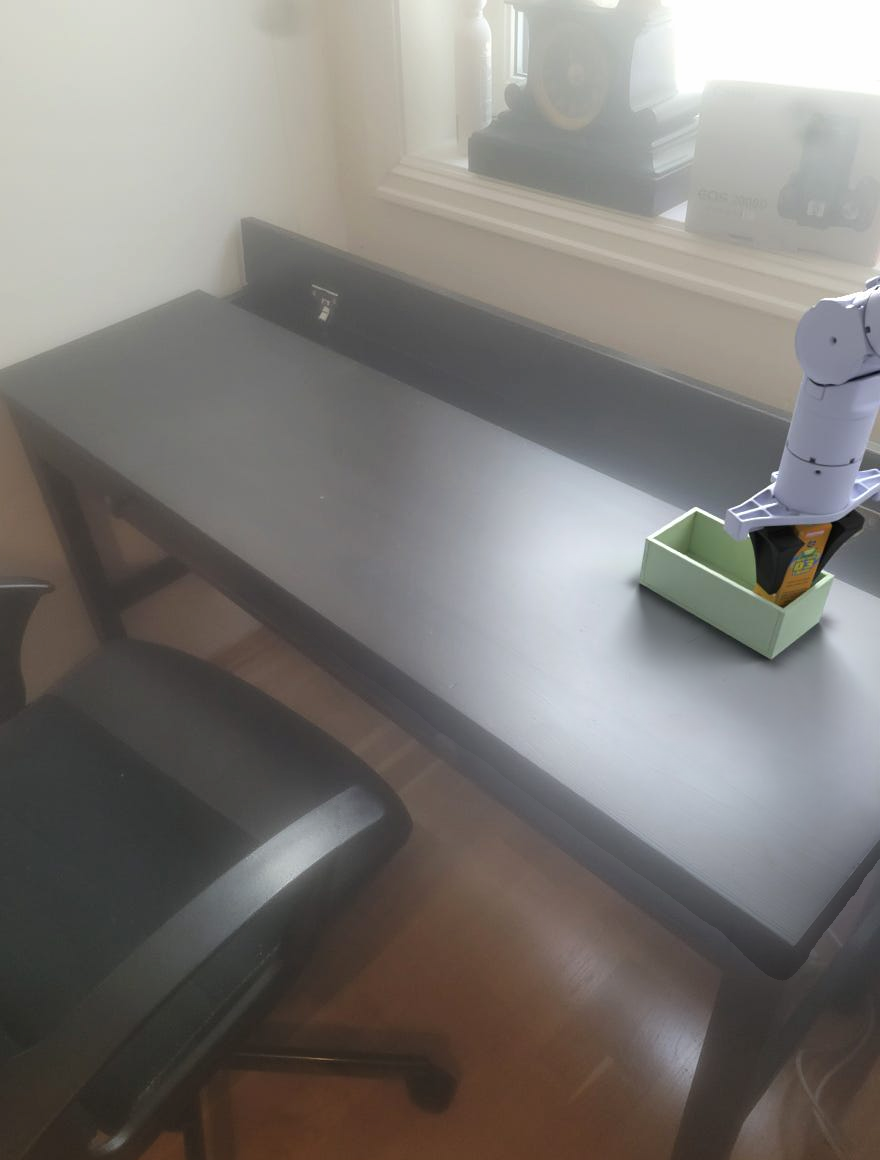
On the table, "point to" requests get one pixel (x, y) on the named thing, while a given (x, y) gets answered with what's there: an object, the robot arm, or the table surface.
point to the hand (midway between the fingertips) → (785, 581)
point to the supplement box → (800, 564)
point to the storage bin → (725, 583)
